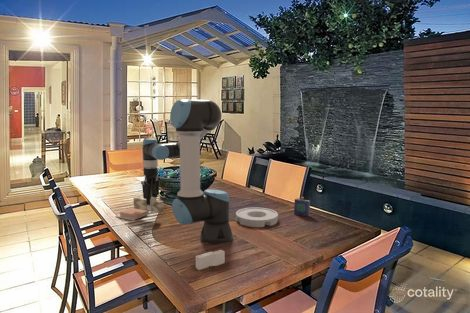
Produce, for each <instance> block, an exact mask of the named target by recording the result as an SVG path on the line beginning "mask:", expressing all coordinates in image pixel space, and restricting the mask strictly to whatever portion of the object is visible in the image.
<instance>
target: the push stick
mask: <svg viewBox="0 0 470 313" xmlns="http://www.w3.org/2000/svg"><path fill="white" fill-rule="evenodd" d="M133 208H134V209H140V210H145V211H148V210H147V204H146V199H144V198H143V196H142V197H141V196H134V197H133ZM151 212H152V213H156V214H157V213H158V214H161V213H163V212H164V200H161V199H160V200H158V199H156V200H154V199H152V211H151Z"/></svg>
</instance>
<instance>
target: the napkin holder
mask: <svg viewBox="0 0 470 313" xmlns="http://www.w3.org/2000/svg"><path fill="white" fill-rule="evenodd" d="M225 255H226V253H225V251H224V250H222V249H218V250H215V251H208V252H205V253H202V254H198V255H195V269H196V270H199V271H200V270H203V269H206V268H209V266H210V267H216V266H217V267H218V266H220V265H222V264H225V263H226V262H225Z"/></svg>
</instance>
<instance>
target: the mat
mask: <svg viewBox="0 0 470 313" xmlns="http://www.w3.org/2000/svg"><path fill="white" fill-rule="evenodd" d="M152 213H153V212H151V211H149V214H148V215H150V214H152ZM115 218H118V219H119V218H120V219H126V220H130V221H135V220H137V219H134V218H129V217H124V216H120V213H119V214H117V215H115Z"/></svg>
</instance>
